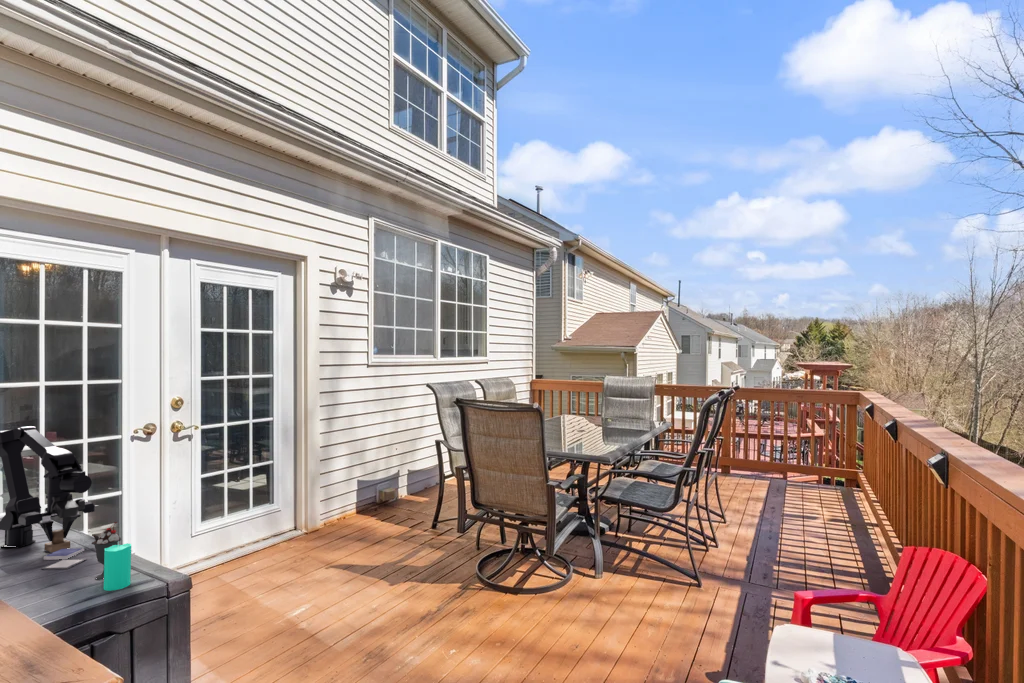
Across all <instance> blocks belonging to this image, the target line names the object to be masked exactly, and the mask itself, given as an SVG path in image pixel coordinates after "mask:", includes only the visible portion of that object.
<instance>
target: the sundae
mask: <svg viewBox="0 0 1024 683" xmlns="http://www.w3.org/2000/svg"><path fill="white" fill-rule="evenodd" d="M117 523H118V521H114V522H113V525H111V526H110V527H107V528H106V530H103V531H102V532H100V533H99V535H98V534H93V538H94V541H92V542H91V544H92V545H93V546H94V547H95V554H96V560H97V562H98V563H99V564H101V565H102V566H104V553H105V548H109V547H111V546H113V545H118V541H119V542H120V541H122V537H121V536H119V534H117V533H116V532H117V530H116V529H114V528H115V525H116V524H117ZM96 576H97V577H96ZM96 576H95V577H96V578H97V579H103V578H104V568H103V570H102V573H100V574H99V575H96Z"/></svg>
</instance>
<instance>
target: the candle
mask: <svg viewBox="0 0 1024 683" xmlns="http://www.w3.org/2000/svg"><path fill="white" fill-rule="evenodd" d="M119 542H120V541H118V545H113V546H111V547H109V548H105V553H104V565H103V569H104V580H103V590H104V591H110V592H111V591H117V590H122V589H124V588H127V587H128V586H130V585H131V577H132V576H131V574H132V571H131V570H132V543H127V542H126V543H124V544H119Z"/></svg>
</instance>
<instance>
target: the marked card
mask: <svg viewBox="0 0 1024 683" xmlns="http://www.w3.org/2000/svg"><path fill="white" fill-rule="evenodd" d="M86 559H87V558H69V559H62V560H58V561H57V560H56V561H55V562H54V563H51V564H49V565H47V566H44V567H42V568H40V569H48V570H69V569H70V568H73V567H74V566H77V565H79V564H81V563H83V562H82V561H84V560H86ZM86 561H87V560H86ZM80 562H81V563H80ZM84 562H85V561H84ZM78 563H79V564H78ZM76 564H77V565H76ZM72 566H73V567H72Z"/></svg>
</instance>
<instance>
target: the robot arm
mask: <svg viewBox="0 0 1024 683" xmlns="http://www.w3.org/2000/svg"><path fill="white" fill-rule="evenodd" d="M25 446H26V447H28V448H29V449H30V450H31V451H32V452H34V453H35V454H36V455H37V456H39V457H40V460H41V461H40V465H41V466H42V467H43V468H44V469H45V470H46V473H45V474H44V475H43V478H44V479H47V495H45V499H47V501H46V502H47V503H46V504H47V505H46V507H45V510H44V512H42V506H41V504H40V498H39V497H38V496H33V495H32V494H31V493H30V489H29V484H28V479H27V475H26V471H25V470H26V469H25V466H24V460H23V456H22V452H23V450H24V448H25ZM0 458H1V461H2V462H1V463H2V468H3V471H4V476H5V481H6V486H7V492H8V496H9V500H8V503H7V505H5V509H4V510H5V513H4V514H5V515H4V516H3V517H2V518H1V520H0V531H4V544H3V545H1V546H0V547H2V546H3V547H4V545H7V546H16V547H20V548H23V547H26V546H29V545H31V544H33V543H36V541H37V540H35V539H34V534H33V533H34V529H33V525H40V527H41V528H42V530H43V531H44V533H45V535H46V538H47V539H48V541H49V542H52V538H53V533H52V531H53V524H54V520H52V518H55V517H58V518H59V519H62V529H63V530H64V539H66V538H67V536H68V534H69V532H70V530H71V527H72V526H73V524H74V522H75V521H76V520H77V518H78V519H79V518H81V516H82V515H81V514H80V512H82V513H84V514H88V513H93V512H96V505H95V503H94V502H90V501H86V500H85V499H84V498H77V499H73V494H84V493H86V492H88V490H90V488H91V486H92V483H93V482H92V481H93V480H92V479H91V477H90V476H89V475H86V471H85V470H84V471H83V468H82V465H81V464H80V463H79V461H78V460H77V458H76V455H75V454H74V453H73V452H72V451H70V450H68V449H66V448H62V447H58V446H56V445H55V444H54V443H52V442H51V441H50V440H49V439H48V438H46V437H45V436H44V435H43V434H42V433H40V432H39V431H38V429H37V427H36V426H32V425H29V426H19V427H17V428H14V429H6V430H5V429H4V430H0ZM72 493H73V494H72ZM25 545H26V546H25ZM22 546H23V547H22Z"/></svg>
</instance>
